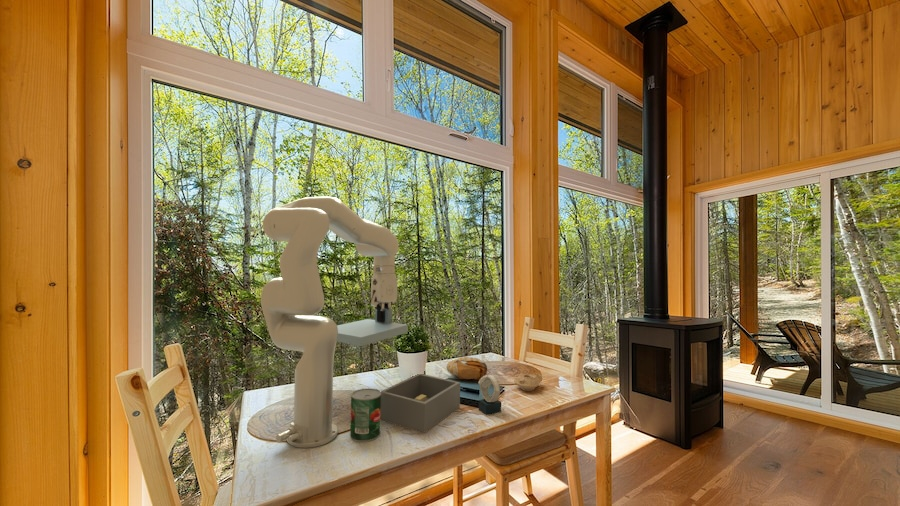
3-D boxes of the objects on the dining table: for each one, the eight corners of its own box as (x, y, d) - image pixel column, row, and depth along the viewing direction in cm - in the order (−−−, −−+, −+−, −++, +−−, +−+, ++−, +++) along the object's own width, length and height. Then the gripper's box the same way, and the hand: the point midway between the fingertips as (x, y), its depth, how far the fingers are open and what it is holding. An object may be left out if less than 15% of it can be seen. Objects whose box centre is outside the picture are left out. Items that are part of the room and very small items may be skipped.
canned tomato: (348, 430, 100) (349, 390, 100) (376, 425, 103) (377, 386, 103) (352, 444, 92) (353, 401, 92) (383, 439, 95) (384, 397, 96)
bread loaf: (504, 386, 138) (472, 395, 130) (470, 367, 156) (440, 374, 148) (504, 365, 137) (473, 374, 129) (470, 349, 155) (440, 355, 147)
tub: (424, 433, 99) (425, 403, 99) (379, 419, 107) (379, 391, 107) (459, 407, 116) (460, 382, 116) (418, 396, 124) (419, 373, 124)
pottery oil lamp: (550, 386, 136) (551, 372, 132) (527, 403, 130) (527, 389, 127) (533, 372, 142) (533, 359, 139) (510, 387, 136) (510, 374, 133)
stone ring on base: (489, 404, 119) (490, 370, 119) (504, 414, 112) (505, 378, 112) (475, 407, 116) (475, 373, 117) (489, 417, 109) (489, 381, 109)
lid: (361, 346, 109) (361, 320, 109) (318, 337, 119) (318, 314, 119) (407, 332, 129) (407, 310, 129) (367, 326, 139) (367, 305, 139)
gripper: (377, 271, 123) (376, 326, 123) (405, 270, 137) (404, 319, 137) (360, 270, 127) (359, 323, 127) (390, 269, 141) (389, 317, 141)
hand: (383, 320), depth 132 cm, fingers closed on lid
